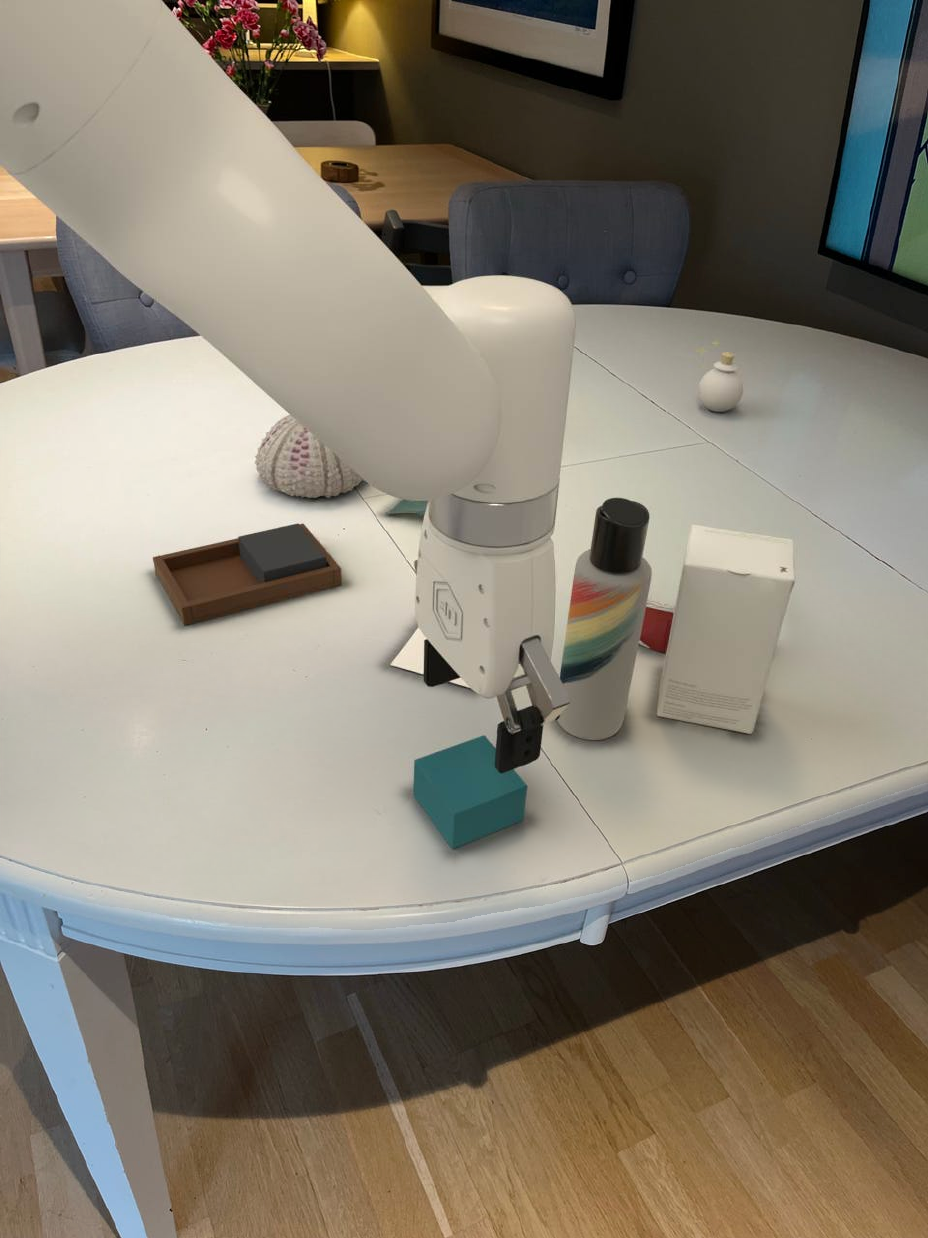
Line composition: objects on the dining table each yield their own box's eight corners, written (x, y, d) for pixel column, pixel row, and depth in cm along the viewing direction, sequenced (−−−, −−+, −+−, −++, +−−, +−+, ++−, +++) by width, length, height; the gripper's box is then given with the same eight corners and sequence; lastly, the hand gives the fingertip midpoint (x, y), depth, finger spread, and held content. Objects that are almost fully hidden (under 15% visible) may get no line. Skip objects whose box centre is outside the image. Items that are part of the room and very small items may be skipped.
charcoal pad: (265, 593, 91) (263, 571, 90) (239, 556, 96) (237, 536, 95) (327, 577, 94) (326, 556, 93) (299, 543, 99) (298, 522, 98)
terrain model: (444, 533, 102) (444, 518, 101) (383, 516, 105) (382, 501, 104) (498, 488, 112) (498, 473, 111) (440, 473, 115) (440, 459, 114)
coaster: (426, 617, 90) (426, 610, 89) (506, 638, 88) (506, 631, 87) (390, 664, 84) (390, 657, 83) (475, 689, 82) (475, 682, 81)
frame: (184, 625, 87) (181, 607, 86) (155, 574, 94) (152, 556, 93) (341, 585, 94) (341, 568, 93) (304, 539, 100) (303, 523, 99)
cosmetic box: (754, 691, 84) (800, 538, 74) (752, 740, 78) (801, 581, 69) (658, 671, 85) (691, 519, 76) (650, 718, 80) (684, 560, 71)
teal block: (452, 850, 67) (454, 814, 65) (412, 794, 71) (413, 759, 69) (523, 820, 70) (527, 785, 68) (481, 769, 74) (484, 734, 72)
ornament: (735, 421, 132) (752, 350, 126) (682, 412, 134) (695, 342, 128) (739, 405, 137) (755, 336, 131) (687, 397, 138) (701, 328, 132)
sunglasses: (592, 650, 87) (600, 599, 85) (593, 579, 102) (599, 535, 100) (786, 674, 85) (798, 623, 83) (757, 599, 101) (767, 554, 98)
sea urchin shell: (327, 518, 104) (325, 451, 100) (231, 485, 109) (224, 420, 105) (393, 473, 114) (394, 409, 109) (301, 444, 119) (298, 383, 114)
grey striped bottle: (588, 688, 83) (621, 481, 71) (637, 723, 79) (680, 512, 68) (540, 713, 80) (567, 501, 68) (589, 752, 76) (626, 535, 65)
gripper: (370, 453, 60) (375, 665, 70) (518, 591, 48) (498, 823, 58) (473, 432, 63) (463, 637, 73) (635, 556, 51) (597, 781, 61)
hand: (478, 719), depth 66 cm, fingers open, 9 cm apart
